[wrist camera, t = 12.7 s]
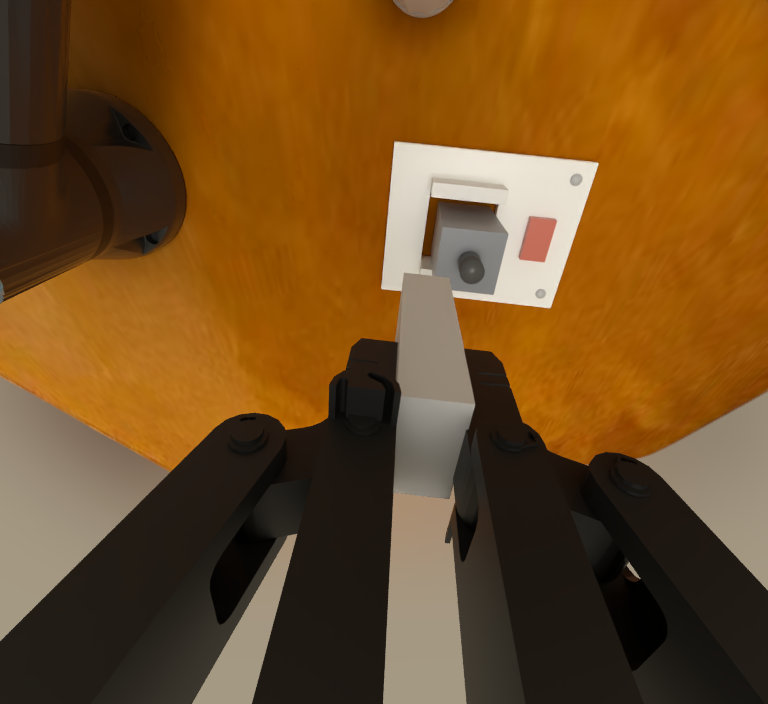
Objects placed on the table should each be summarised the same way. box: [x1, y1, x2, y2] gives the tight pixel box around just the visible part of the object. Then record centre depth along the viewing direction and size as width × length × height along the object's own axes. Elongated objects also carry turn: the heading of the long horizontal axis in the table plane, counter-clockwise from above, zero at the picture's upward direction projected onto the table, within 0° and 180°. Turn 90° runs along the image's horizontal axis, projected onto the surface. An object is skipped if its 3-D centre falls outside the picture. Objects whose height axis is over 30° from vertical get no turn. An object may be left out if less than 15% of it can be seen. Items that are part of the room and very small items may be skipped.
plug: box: [431, 201, 508, 295], centre depth 35 cm, size 5×5×12 cm
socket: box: [381, 141, 599, 308], centre depth 38 cm, size 18×14×4 cm
